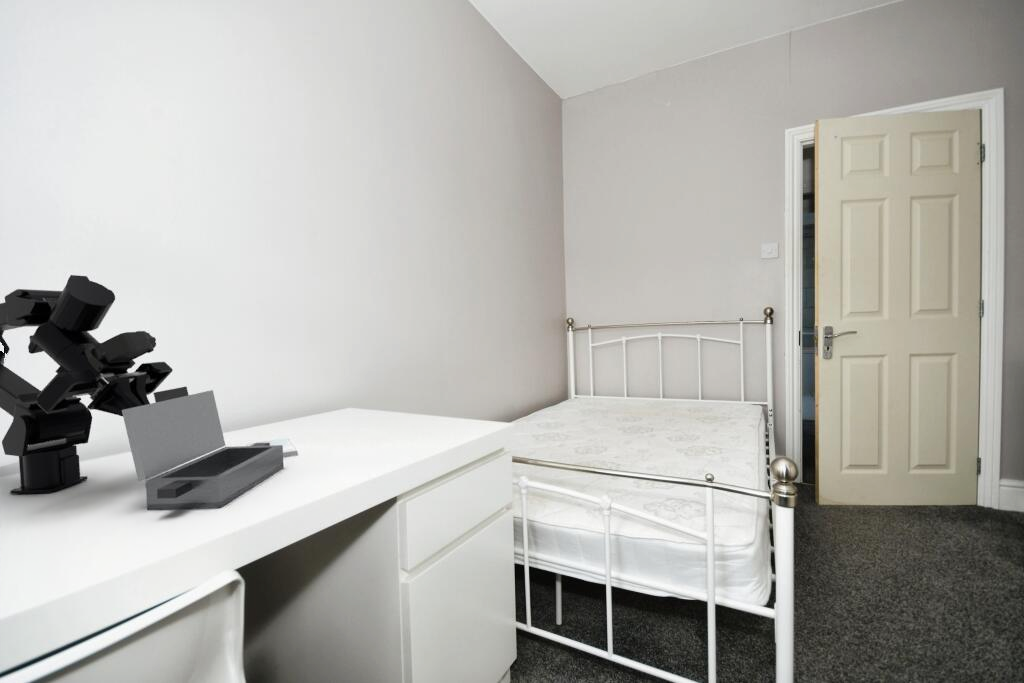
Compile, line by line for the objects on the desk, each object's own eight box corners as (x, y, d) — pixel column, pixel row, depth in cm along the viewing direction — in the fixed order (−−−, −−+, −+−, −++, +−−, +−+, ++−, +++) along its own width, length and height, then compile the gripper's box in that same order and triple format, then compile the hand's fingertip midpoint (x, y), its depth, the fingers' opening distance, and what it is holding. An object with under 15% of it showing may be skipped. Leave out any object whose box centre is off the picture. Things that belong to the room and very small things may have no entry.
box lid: (145, 479, 64) (131, 482, 64) (225, 445, 82) (214, 447, 82) (126, 397, 64) (111, 400, 64) (210, 381, 82) (199, 384, 82)
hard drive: (245, 443, 96) (249, 457, 86) (289, 437, 101) (297, 449, 90) (245, 451, 96) (249, 466, 86) (289, 445, 101) (298, 458, 90)
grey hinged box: (129, 518, 61) (127, 488, 61) (236, 464, 85) (235, 442, 85) (206, 516, 61) (204, 486, 61) (291, 462, 85) (290, 440, 85)
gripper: (52, 312, 63) (138, 392, 63) (158, 315, 81) (224, 377, 82) (-2, 372, 63) (84, 452, 63) (116, 361, 82) (182, 422, 82)
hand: (152, 421), depth 73 cm, fingers closed
